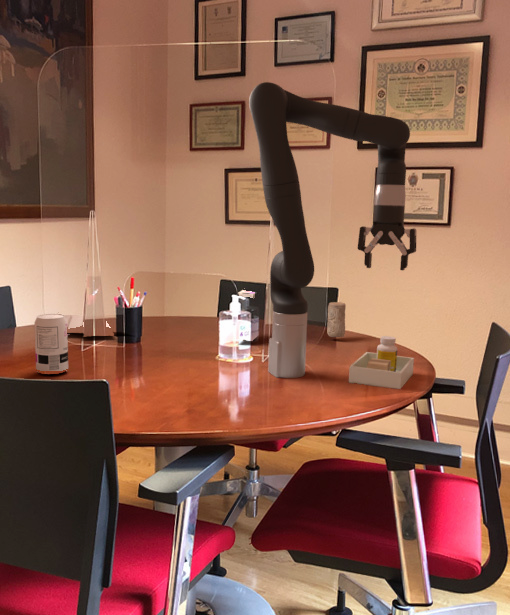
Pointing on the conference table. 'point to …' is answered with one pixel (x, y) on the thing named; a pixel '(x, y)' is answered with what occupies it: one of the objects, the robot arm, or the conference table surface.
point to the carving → (336, 319)
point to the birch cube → (379, 364)
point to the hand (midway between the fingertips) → (385, 269)
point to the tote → (381, 372)
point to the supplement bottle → (388, 351)
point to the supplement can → (51, 342)
